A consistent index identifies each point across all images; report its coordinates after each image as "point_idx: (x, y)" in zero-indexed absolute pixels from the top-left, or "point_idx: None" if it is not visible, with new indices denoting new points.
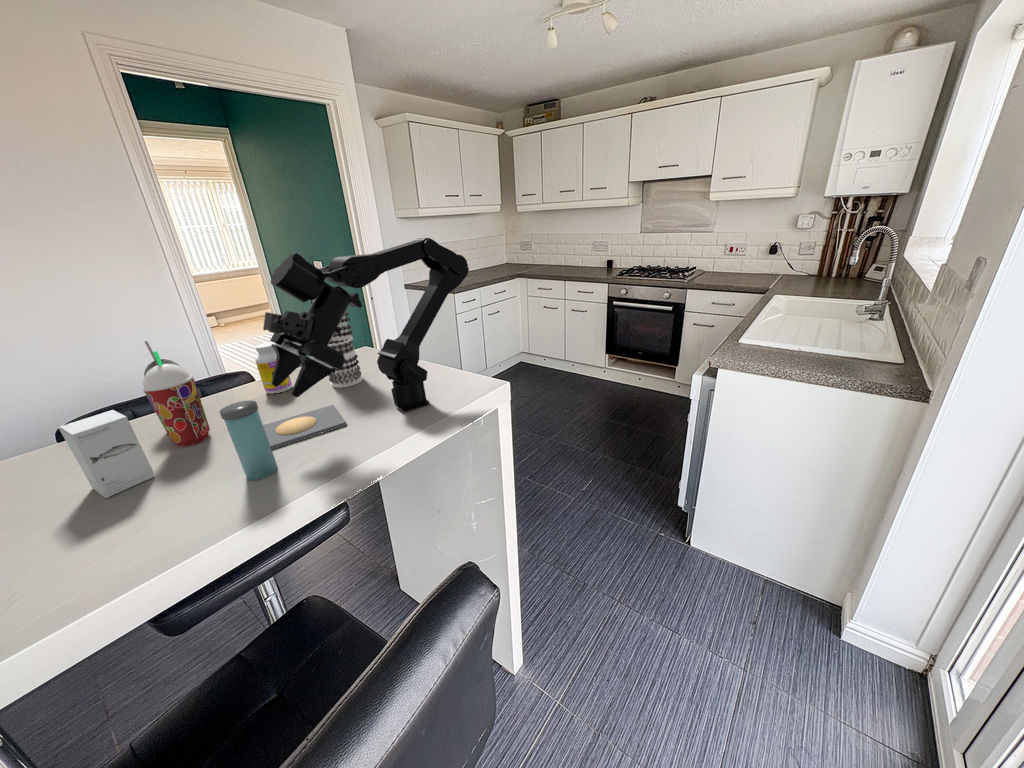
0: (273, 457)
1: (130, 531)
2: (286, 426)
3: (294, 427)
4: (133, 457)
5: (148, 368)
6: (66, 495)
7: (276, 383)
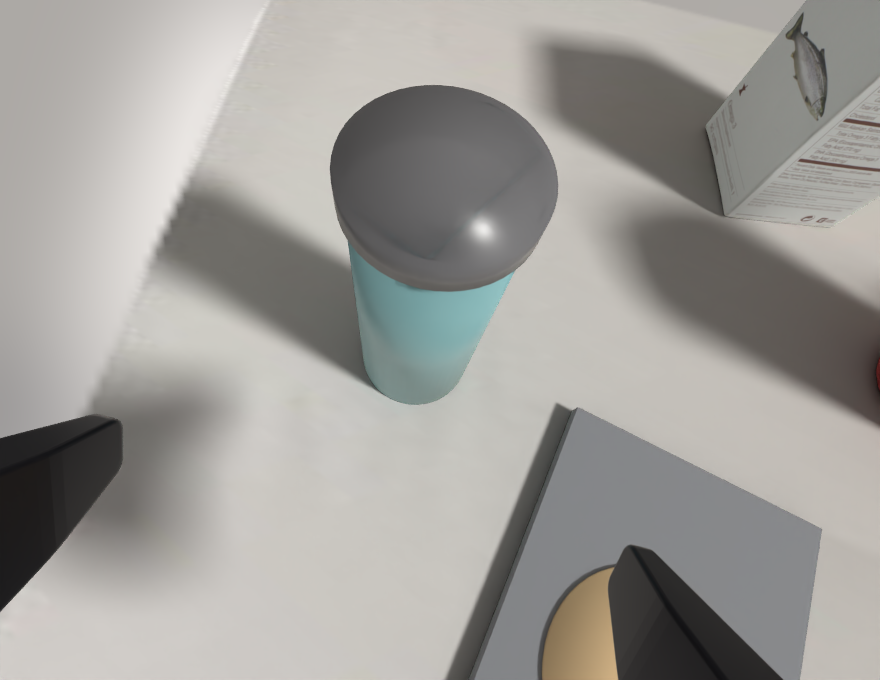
0: (376, 374)
1: (481, 87)
2: None
3: None
4: (780, 131)
5: None
6: None
7: (622, 589)
